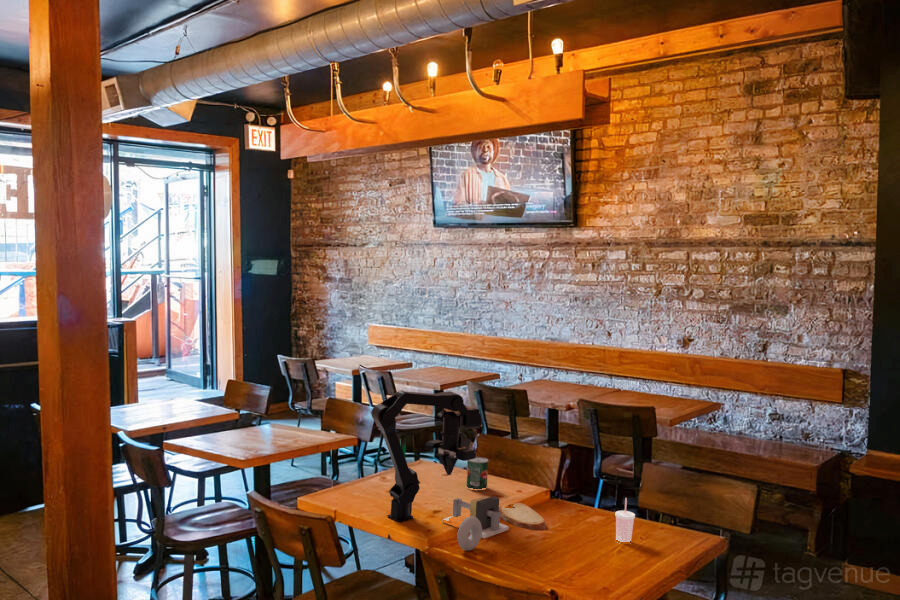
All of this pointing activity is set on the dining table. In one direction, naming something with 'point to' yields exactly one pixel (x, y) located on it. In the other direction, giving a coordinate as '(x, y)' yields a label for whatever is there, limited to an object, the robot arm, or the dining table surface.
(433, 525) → the dining table surface
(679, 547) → the dining table surface
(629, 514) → the beverage cup
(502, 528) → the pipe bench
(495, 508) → the dark gray square plate
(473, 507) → the olive brown square block
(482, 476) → the canned tomato
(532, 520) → the bread slice
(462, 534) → the grey wheel
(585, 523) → the dining table surface
